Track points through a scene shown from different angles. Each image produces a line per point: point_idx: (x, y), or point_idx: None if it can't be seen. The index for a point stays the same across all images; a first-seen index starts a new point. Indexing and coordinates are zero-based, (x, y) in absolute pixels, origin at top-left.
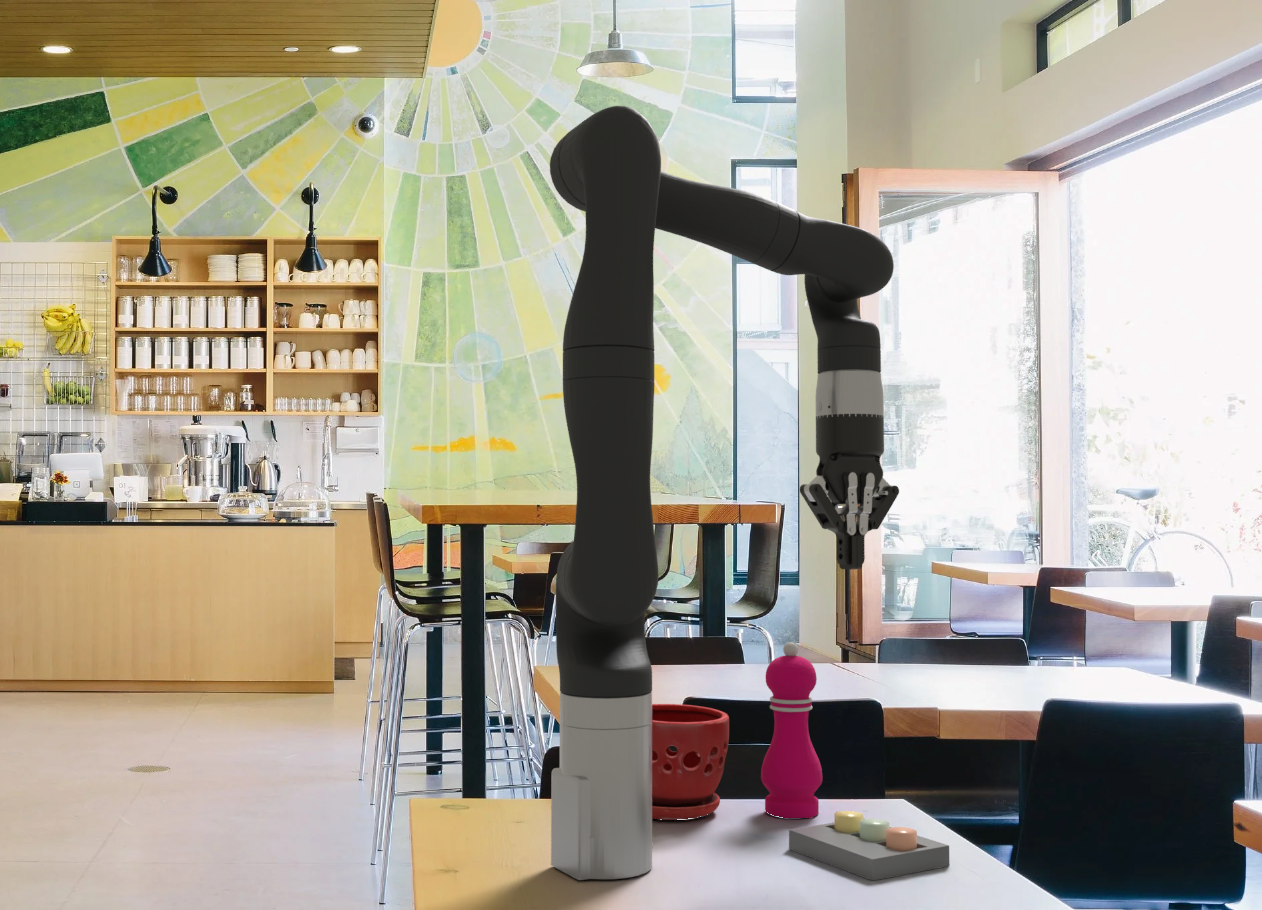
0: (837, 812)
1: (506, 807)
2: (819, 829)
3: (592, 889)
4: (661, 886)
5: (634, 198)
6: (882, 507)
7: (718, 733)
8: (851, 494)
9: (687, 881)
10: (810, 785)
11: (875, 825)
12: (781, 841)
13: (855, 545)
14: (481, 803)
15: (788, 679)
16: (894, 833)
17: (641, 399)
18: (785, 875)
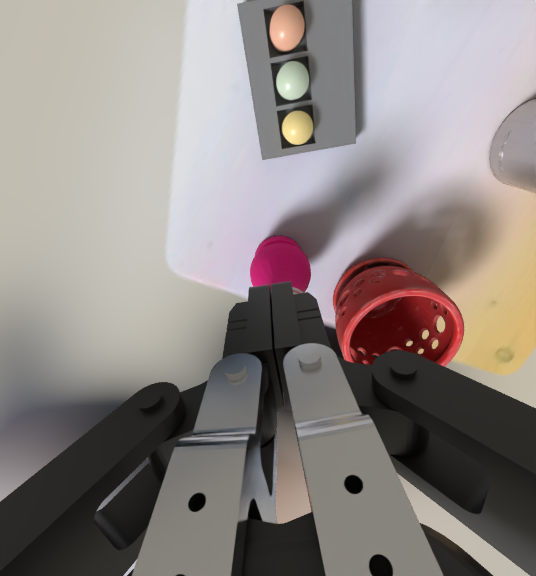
0: (304, 140)
1: (474, 343)
2: (328, 131)
3: None
4: (532, 61)
5: None
6: (56, 504)
7: (378, 289)
8: (395, 562)
9: (501, 68)
10: (275, 243)
11: (300, 65)
12: (341, 170)
13: (279, 323)
14: (482, 358)
15: None
16: (301, 17)
17: None
18: (410, 49)
